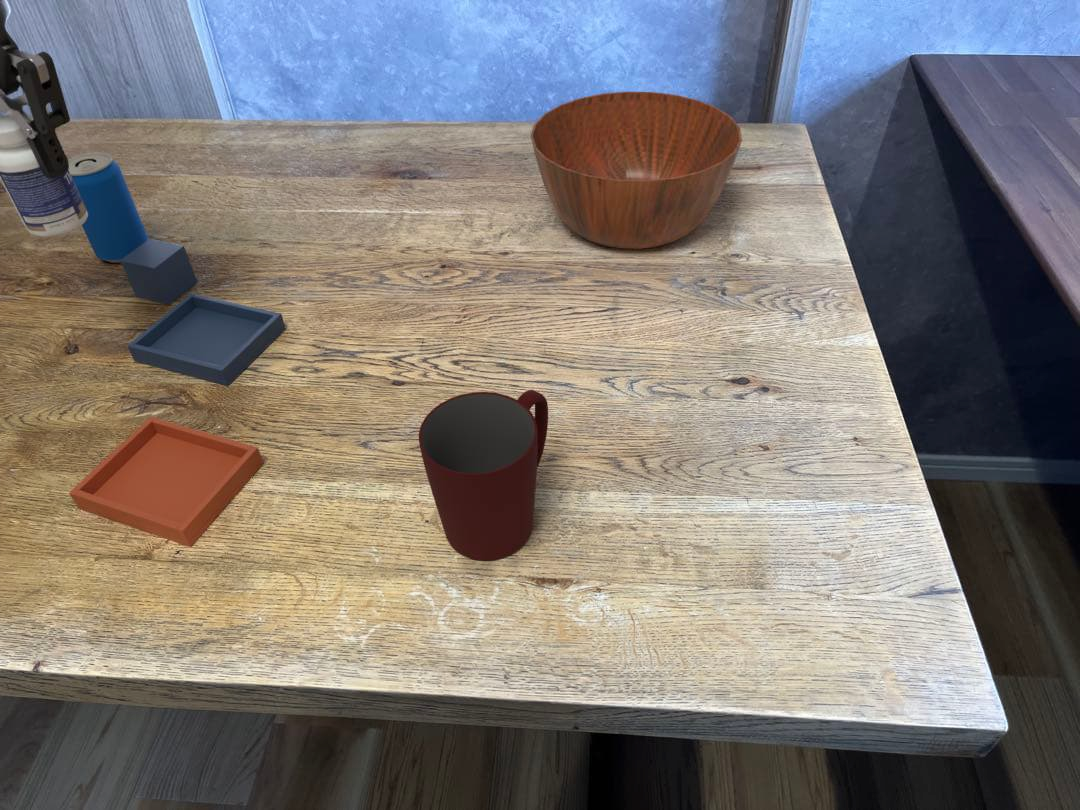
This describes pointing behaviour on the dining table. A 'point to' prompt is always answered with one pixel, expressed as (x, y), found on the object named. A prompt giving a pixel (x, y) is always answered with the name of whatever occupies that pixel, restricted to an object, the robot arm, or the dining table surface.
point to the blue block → (159, 271)
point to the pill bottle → (37, 186)
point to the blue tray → (207, 338)
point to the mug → (485, 469)
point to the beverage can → (107, 206)
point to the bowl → (635, 165)
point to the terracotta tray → (168, 480)
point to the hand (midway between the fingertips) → (32, 168)
